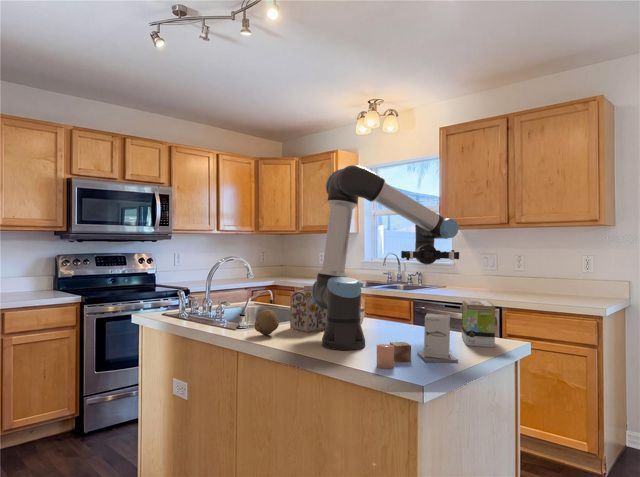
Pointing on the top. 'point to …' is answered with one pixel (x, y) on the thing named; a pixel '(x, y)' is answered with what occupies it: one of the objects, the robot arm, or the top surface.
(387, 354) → the peach rounded cylinder
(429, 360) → the slate tile
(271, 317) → the natural sponge
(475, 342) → the tea box
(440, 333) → the supplement box
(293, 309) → the decorative jar
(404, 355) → the walnut block
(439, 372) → the top surface
